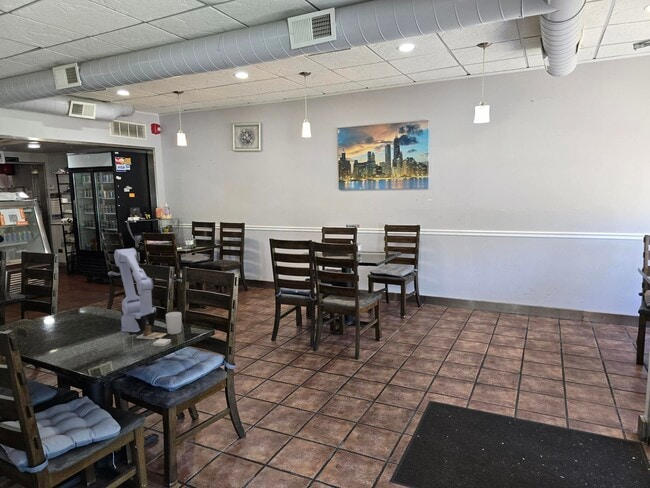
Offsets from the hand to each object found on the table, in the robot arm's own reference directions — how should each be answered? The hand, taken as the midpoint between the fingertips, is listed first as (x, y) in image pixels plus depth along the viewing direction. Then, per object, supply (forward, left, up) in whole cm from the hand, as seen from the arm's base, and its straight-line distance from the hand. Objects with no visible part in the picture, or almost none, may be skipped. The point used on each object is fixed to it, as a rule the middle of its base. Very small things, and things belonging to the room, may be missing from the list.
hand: (147, 328), depth 220 cm
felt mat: (+1, 0, -4) cm, 4 cm away
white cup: (+11, +8, -4) cm, 14 cm away
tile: (+11, -9, -4) cm, 15 cm away
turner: (+4, 0, -4) cm, 5 cm away
